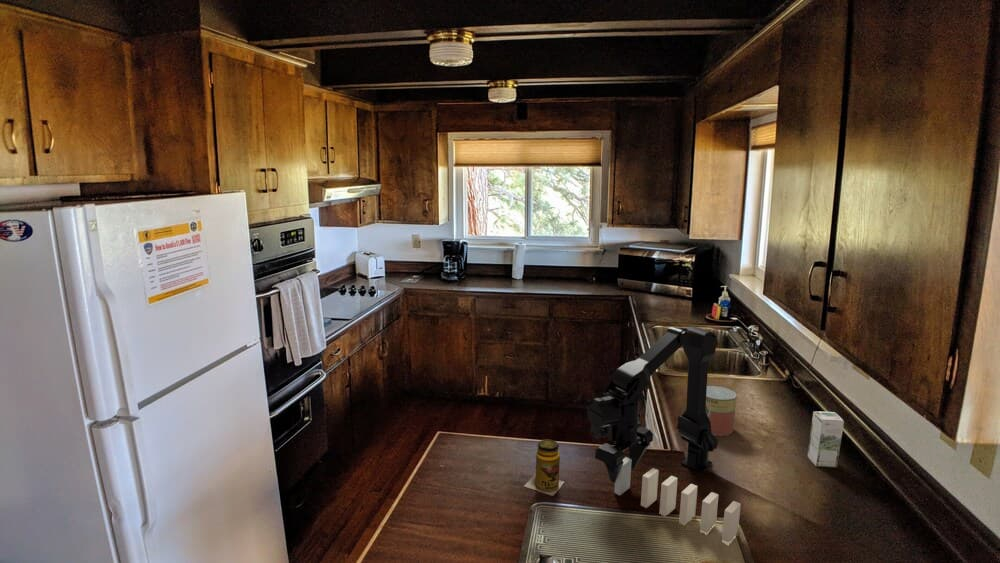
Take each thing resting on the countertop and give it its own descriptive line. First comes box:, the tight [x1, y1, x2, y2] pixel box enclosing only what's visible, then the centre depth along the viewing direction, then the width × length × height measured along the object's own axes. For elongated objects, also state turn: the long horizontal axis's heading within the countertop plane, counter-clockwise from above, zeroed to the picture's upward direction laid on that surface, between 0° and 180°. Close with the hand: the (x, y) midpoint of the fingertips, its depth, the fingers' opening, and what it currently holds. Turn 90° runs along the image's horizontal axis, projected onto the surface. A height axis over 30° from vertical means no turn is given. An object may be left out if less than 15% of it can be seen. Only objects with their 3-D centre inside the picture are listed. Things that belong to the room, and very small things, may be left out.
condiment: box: [523, 438, 565, 497], centre depth 144 cm, size 7×8×12 cm
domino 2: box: [640, 467, 659, 509], centre depth 137 cm, size 5×2×8 cm, turn 136°
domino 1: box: [614, 456, 632, 496], centre depth 143 cm, size 5×2×8 cm, turn 137°
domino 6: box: [721, 500, 742, 542], centre depth 124 cm, size 5×2×8 cm, turn 136°
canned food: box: [706, 385, 738, 437], centre depth 178 cm, size 11×11×12 cm
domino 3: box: [658, 475, 679, 517], centre depth 134 cm, size 5×2×8 cm, turn 136°
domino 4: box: [678, 483, 699, 524], centre depth 131 cm, size 5×2×8 cm, turn 136°
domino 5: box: [699, 491, 720, 533], centre depth 127 cm, size 5×2×8 cm, turn 136°
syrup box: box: [807, 410, 845, 468], centre depth 157 cm, size 6×6×14 cm
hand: (622, 475), depth 142 cm, fingers open, 9 cm apart
